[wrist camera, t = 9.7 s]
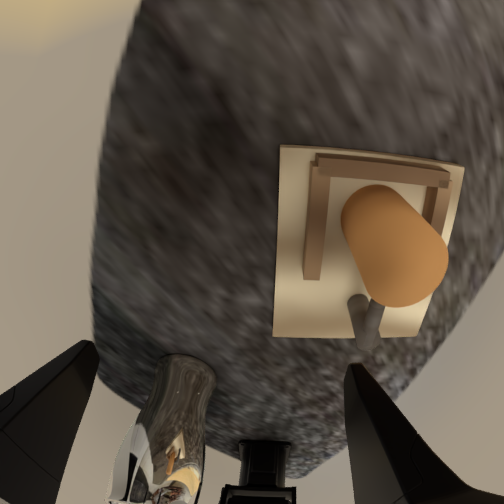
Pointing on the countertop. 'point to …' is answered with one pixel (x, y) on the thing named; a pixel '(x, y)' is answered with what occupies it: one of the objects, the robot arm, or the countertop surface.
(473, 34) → the countertop surface
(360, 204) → the orange rounded capsule
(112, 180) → the countertop surface
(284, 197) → the hook board
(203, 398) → the silver tall piece
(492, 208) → the countertop surface
